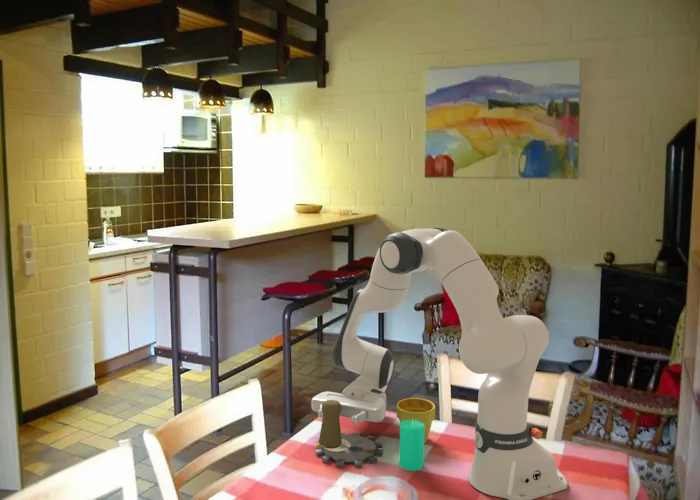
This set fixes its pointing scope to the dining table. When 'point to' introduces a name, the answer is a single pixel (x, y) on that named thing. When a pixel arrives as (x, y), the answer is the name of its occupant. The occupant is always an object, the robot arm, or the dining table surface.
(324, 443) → the cork
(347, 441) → the sprocket plate
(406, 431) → the candle
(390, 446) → the dining table surface
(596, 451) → the dining table surface
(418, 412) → the plant pot
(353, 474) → the dining table surface
